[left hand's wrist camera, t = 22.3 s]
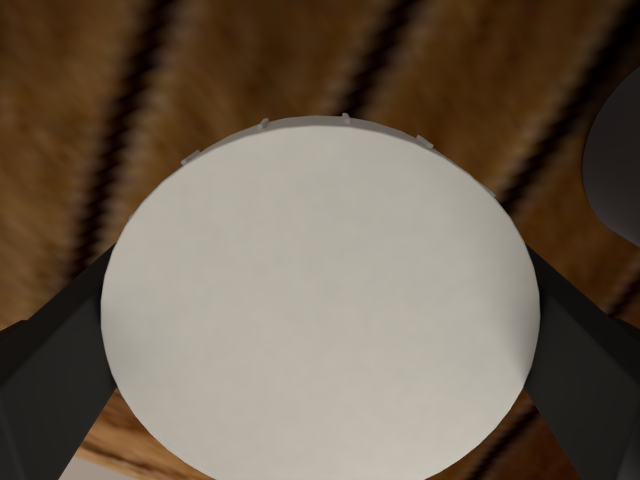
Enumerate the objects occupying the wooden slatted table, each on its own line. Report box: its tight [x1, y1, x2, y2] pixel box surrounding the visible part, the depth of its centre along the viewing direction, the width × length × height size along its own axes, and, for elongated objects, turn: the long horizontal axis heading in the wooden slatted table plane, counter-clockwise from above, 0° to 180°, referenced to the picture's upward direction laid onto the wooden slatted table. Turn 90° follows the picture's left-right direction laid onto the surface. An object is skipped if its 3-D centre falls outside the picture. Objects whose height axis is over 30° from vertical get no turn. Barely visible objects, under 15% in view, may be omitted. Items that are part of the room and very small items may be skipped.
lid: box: [101, 113, 540, 480], centre depth 11 cm, size 10×10×2 cm
